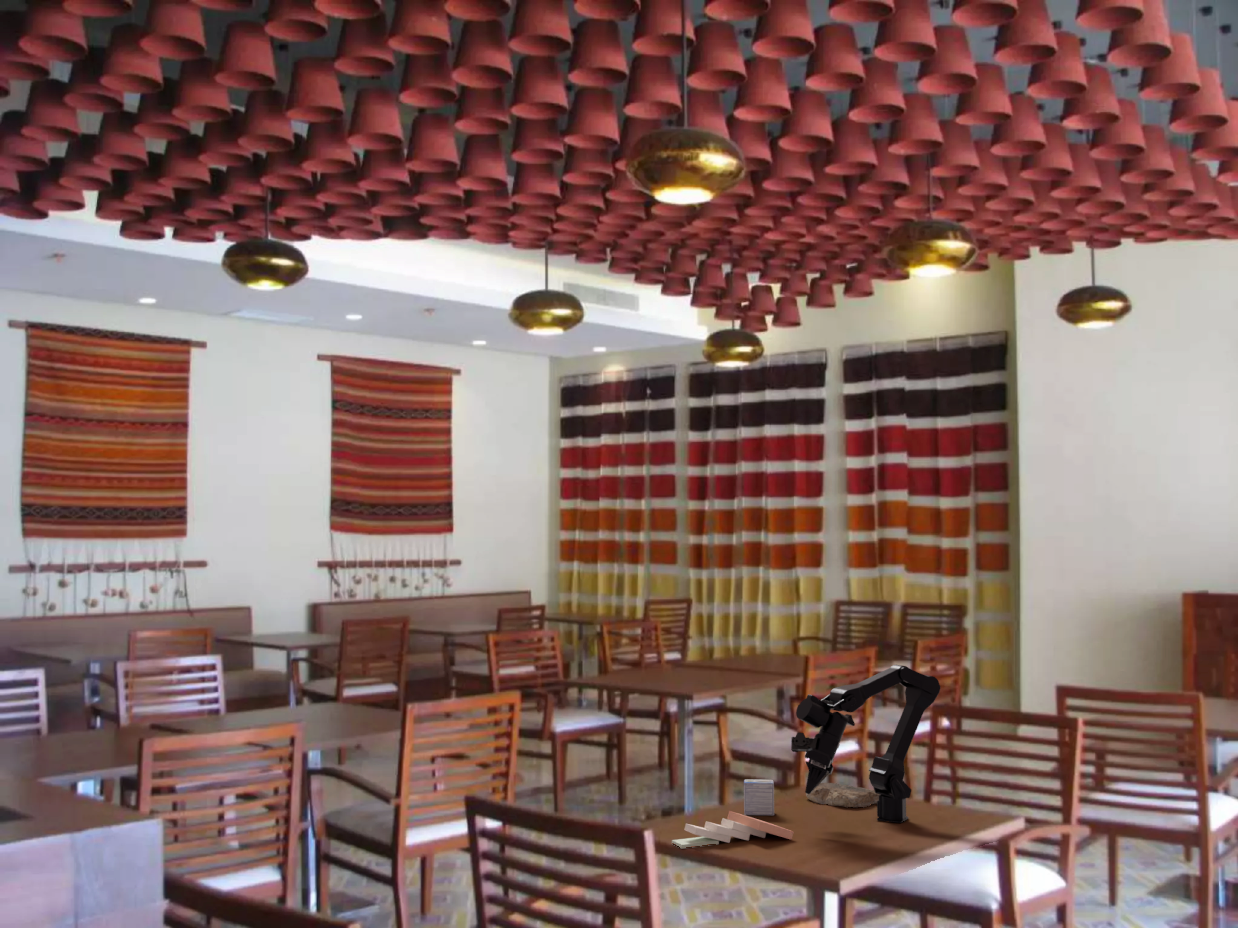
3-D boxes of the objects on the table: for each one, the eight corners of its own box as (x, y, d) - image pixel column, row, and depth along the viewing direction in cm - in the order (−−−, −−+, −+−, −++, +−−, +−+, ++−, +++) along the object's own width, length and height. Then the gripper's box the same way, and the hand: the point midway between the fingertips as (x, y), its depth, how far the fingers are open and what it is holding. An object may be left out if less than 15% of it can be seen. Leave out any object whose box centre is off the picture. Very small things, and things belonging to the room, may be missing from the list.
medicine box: (774, 812, 332) (773, 779, 333) (774, 815, 328) (774, 782, 328) (744, 811, 333) (743, 778, 334) (744, 815, 329) (743, 782, 329)
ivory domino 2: (737, 829, 306) (705, 821, 301) (750, 833, 302) (718, 825, 297) (736, 835, 305) (704, 827, 301) (748, 840, 301) (716, 832, 296)
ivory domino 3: (754, 827, 308) (722, 817, 304) (766, 831, 304) (733, 821, 300) (752, 833, 308) (720, 824, 304) (764, 837, 304) (732, 828, 299)
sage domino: (708, 835, 303) (671, 839, 298) (718, 840, 298) (681, 844, 294) (708, 842, 303) (671, 846, 298) (718, 847, 298) (681, 851, 294)
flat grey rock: (793, 801, 348) (854, 810, 334) (793, 783, 348) (854, 791, 334) (823, 794, 358) (883, 803, 344) (823, 777, 358) (883, 785, 344)
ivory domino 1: (720, 831, 304) (685, 823, 300) (731, 835, 299) (696, 827, 295) (718, 838, 304) (684, 829, 299) (729, 842, 299) (694, 834, 295)
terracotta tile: (761, 820, 314) (729, 810, 310) (793, 831, 302) (760, 821, 298) (759, 828, 314) (727, 818, 310) (791, 839, 302) (758, 829, 298)
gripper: (802, 727, 327) (779, 784, 323) (797, 716, 310) (774, 776, 306) (842, 744, 324) (820, 801, 320) (840, 734, 306) (817, 794, 303)
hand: (807, 793), depth 312 cm, fingers closed
